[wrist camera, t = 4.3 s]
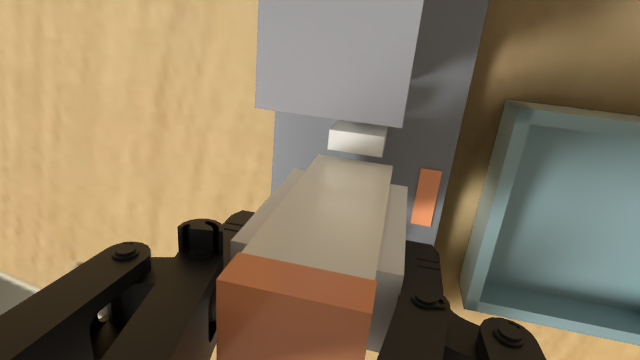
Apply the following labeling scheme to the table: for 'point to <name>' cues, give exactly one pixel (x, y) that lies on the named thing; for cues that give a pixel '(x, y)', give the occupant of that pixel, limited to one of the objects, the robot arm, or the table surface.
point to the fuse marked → (308, 269)
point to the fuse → (337, 58)
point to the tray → (559, 222)
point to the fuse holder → (418, 124)
